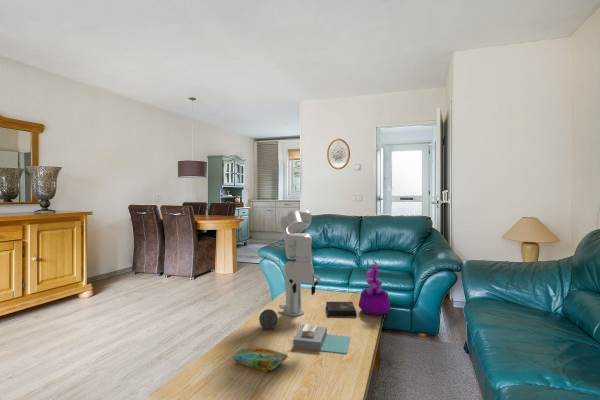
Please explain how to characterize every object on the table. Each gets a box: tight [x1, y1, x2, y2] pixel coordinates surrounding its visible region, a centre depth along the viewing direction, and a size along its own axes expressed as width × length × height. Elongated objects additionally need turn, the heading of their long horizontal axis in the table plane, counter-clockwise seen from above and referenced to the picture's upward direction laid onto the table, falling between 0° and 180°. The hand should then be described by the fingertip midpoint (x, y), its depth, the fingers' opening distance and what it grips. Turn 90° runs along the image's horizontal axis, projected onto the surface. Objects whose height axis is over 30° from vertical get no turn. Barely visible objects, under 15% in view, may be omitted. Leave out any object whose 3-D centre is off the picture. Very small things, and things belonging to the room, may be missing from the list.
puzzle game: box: [232, 344, 289, 373], centre depth 141 cm, size 12×5×20 cm
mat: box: [320, 333, 351, 355], centre depth 159 cm, size 12×18×1 cm, turn 166°
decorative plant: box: [358, 263, 391, 316], centre depth 201 cm, size 19×18×30 cm
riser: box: [292, 324, 328, 352], centre depth 162 cm, size 13×18×4 cm
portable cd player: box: [325, 301, 358, 318], centre depth 203 cm, size 16×17×4 cm
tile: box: [302, 323, 318, 337], centre depth 162 cm, size 6×8×2 cm
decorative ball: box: [258, 308, 279, 330], centre depth 178 cm, size 10×10×10 cm
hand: (303, 293), depth 167 cm, fingers open, 9 cm apart
